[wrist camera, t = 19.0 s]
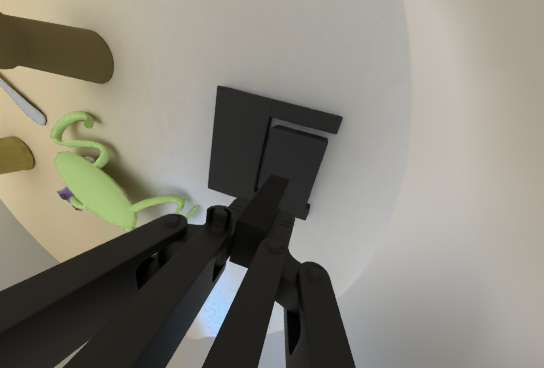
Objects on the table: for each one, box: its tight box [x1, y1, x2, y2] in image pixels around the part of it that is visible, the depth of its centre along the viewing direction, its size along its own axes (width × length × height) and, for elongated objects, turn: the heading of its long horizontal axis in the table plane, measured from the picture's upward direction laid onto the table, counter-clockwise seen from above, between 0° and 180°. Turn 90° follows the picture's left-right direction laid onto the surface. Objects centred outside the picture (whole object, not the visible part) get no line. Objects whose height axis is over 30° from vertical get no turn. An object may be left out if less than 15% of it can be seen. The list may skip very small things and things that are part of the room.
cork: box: [0, 12, 113, 84], centre depth 21 cm, size 6×6×11 cm
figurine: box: [51, 112, 198, 232], centre depth 31 cm, size 18×27×6 cm
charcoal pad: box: [257, 125, 328, 209], centre depth 23 cm, size 6×8×3 cm
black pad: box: [208, 86, 343, 220], centre depth 24 cm, size 14×13×2 cm
